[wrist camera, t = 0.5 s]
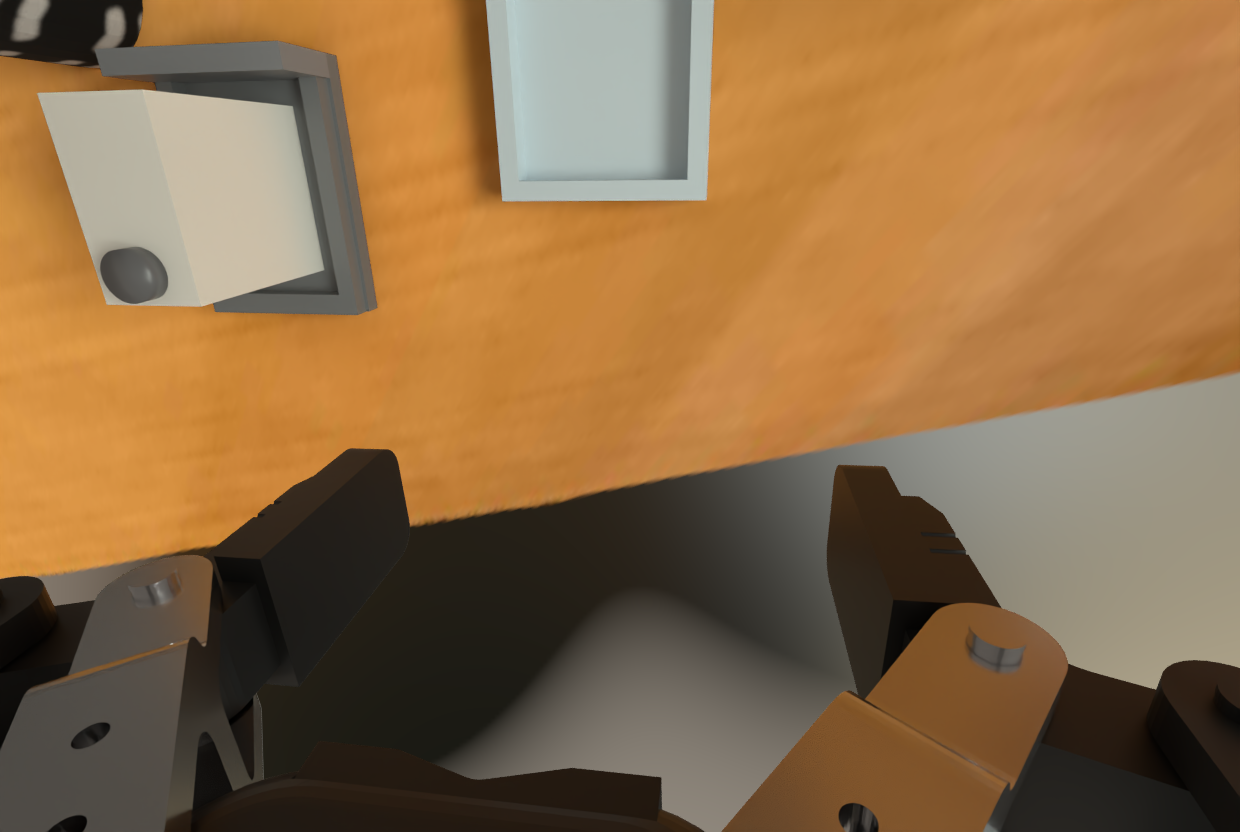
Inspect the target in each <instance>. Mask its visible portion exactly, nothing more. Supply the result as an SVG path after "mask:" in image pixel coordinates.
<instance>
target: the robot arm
mask: <svg viewBox="0 0 1240 832" xmlns="http://www.w3.org/2000/svg"><path fill="white" fill-rule="evenodd" d="M409 533H410V523H409V517H408V512H407V507H406V501H405V496H404V491H403V486H402V481H401V475H400V470H399V465H398V461H397V458H396V456H395V454H394V453H393V452H392V451H391V450H385V449H354V448H352V449H348V450H346V451H345V452H343V453H342V454H341V455H340V456H338V457H337V458H336V459H334V460H333V461H332V462H331V463H329V464H328V465H327V466H326V467H324V468H323V469H322V470H321V471H319V472H318V473H317V474H316V475H314V476H313V477H311V478H309V479H307V480H304V481H302V482H300V483H298V484H296V485H294V486H293V487H291V488H290V489H289V490H287V491H286V492H285V493H284V494H282V495H281V496H280V497H279V498H277V499H276V500H275V501H274V504H270V505H268V506H267V507H266V508H265V509H263V510H262V511H261V512H259V513H258V517H253V518H252V519H251V520H249V521H248V522H247V523H245V524H244V525H243V526H242V527H240V528H239V529H238V530H236V531H235V532H234V533H233V534H231V535H230V536H229V537H228V538H226V539H225V540H224V541H222V542H221V543H220V544H219V545H217V546H216V547H215V548H214V549H212V550H211V551H210V552H209V553H207V554H206V555H205V556H203V557H202V556H196V555H183V556H175V557H169V558H165V559H161V560H157V561H154V562H151V563H148V564H145V565H142V566H140V567H138V568H135V569H133V570H131V571H129V572H127V573H126V574H123V575H122V576H120V577H118V578H117V579H115V580H114V581H112V582H111V583H110V584H108V585H107V586H106V587H105V588H104V589H103V590H102V591H101V592H100V593H99V594H98V596H97V597H96V599H95V600H94V601H87V602H80V603H73V604H66V605H59V606H54V605H53V603H52V601H51V599H50V597H49V595H48V592H47V590H46V588H45V586H44V584H43V582H42V581H41V580H40V579H38V578H35V577H29V576H18V577H10V578H4V579H0V832H704V831H703V830H701V829H700V828H699V827H697V826H695V825H693V824H691V823H689V822H688V821H686V820H684V819H682V818H680V817H679V816H676V815H674V814H671V813H669V812H666V811H664V810H662V797H661V796H662V794H661V793H662V791H661V778H660V777H651V776H642V775H633V774H624V773H614V772H604V771H595V770H586V769H576V768H569V769H560V770H553V771H545V772H538V773H530V774H523V775H515V776H507V777H500V778H492V779H484V780H475V779H470V778H466V777H464V776H462V775H459V774H457V773H454V772H452V771H449V770H447V769H445V768H442V767H440V766H437V765H435V764H432V763H430V762H427V761H425V760H422V759H420V758H418V757H415V756H412V755H410V754H408V753H405V752H403V751H400V750H397V749H389V748H379V747H370V746H360V745H351V744H342V743H331V742H322V741H319V742H318V744H317V745H316V747H315V748H314V750H313V751H312V752H311V754H310V755H309V757H308V758H307V760H306V761H305V763H304V765H303V766H302V768H301V769H300V770H299V771H298V772H291V773H287V774H282V775H279V776H275V777H270V778H267V779H264V780H263V749H262V748H263V745H262V712H261V705H260V702H259V700H258V697H257V694H256V693H257V692H258V691H259V689H260V688H261V687H262V686H263V685H264V684H274V685H285V686H296V687H299V686H300V685H301V684H302V682H303V681H304V680H305V679H306V677H307V676H308V675H309V673H310V672H311V671H312V670H313V668H314V667H315V666H316V664H317V663H318V662H319V661H320V659H321V658H322V657H323V656H324V654H325V653H326V652H327V651H328V649H329V648H330V647H331V645H332V644H333V643H334V642H335V640H336V639H337V638H338V637H339V635H340V634H341V633H342V631H343V630H344V629H345V627H346V626H347V625H348V624H349V622H350V621H351V620H352V619H353V617H354V616H355V615H356V614H357V612H358V611H359V610H360V608H361V607H362V606H363V605H364V603H365V602H366V601H367V600H368V598H369V597H370V596H371V595H372V593H373V592H374V591H375V589H376V588H377V587H378V586H379V584H380V583H381V582H382V580H383V579H384V578H385V577H386V575H387V574H388V573H389V572H390V570H391V569H392V568H393V567H394V565H395V564H396V563H397V561H398V560H399V559H400V558H401V556H402V555H403V553H404V551H405V549H406V547H407V544H408V540H409ZM827 571H828V578H829V583H830V587H831V591H832V595H833V598H834V602H835V606H836V610H837V613H838V618H839V622H840V626H841V630H842V634H843V637H844V641H845V645H846V649H847V653H848V657H849V661H850V665H851V669H852V672H853V676H854V680H855V684H856V688H857V692H858V695H857V694H855V693H854V692H852V691H845V692H843V693H841V694H840V695H839V696H838V697H836V699H835V700H834V701H833V702H832V703H831V704H830V705H829V706H828V707H827V709H826V710H825V711H824V712H823V714H822V715H821V716H820V717H819V718H818V719H817V720H816V722H815V723H814V724H813V725H812V726H811V727H810V729H809V730H808V731H807V732H806V733H805V735H804V736H803V737H802V738H801V739H800V740H799V742H798V743H797V744H796V745H795V746H794V747H793V748H792V750H791V751H790V752H789V753H788V755H787V756H786V757H785V758H784V759H783V760H782V761H781V762H780V764H779V765H778V766H777V767H776V769H775V770H774V771H773V772H772V773H771V774H770V775H769V777H768V778H767V779H766V780H765V781H764V782H763V784H762V785H761V786H760V787H759V788H758V789H757V791H756V792H755V793H754V794H753V795H752V796H751V798H750V799H749V800H748V801H747V802H746V804H745V805H744V806H743V807H742V808H741V809H740V810H739V812H738V813H737V814H736V815H735V816H734V818H733V819H732V820H731V821H730V822H729V823H728V825H727V826H726V827H725V828H724V829H723V830H722V832H1240V668H1238V667H1234V666H1230V665H1226V664H1222V663H1216V662H1210V661H1198V660H1193V661H1182V662H1178V663H1174V664H1172V665H1171V666H1169V667H1167V668H1166V669H1165V670H1164V671H1163V673H1162V676H1161V679H1160V681H1159V684H1158V687H1157V689H1156V690H1155V689H1151V688H1147V687H1144V686H1140V685H1137V684H1133V683H1129V682H1126V681H1122V680H1118V679H1114V678H1111V677H1108V676H1104V675H1100V674H1097V673H1093V672H1090V671H1087V670H1084V669H1081V668H1078V667H1075V666H1073V665H1070V664H1068V661H1067V658H1066V655H1065V652H1064V651H1063V649H1062V648H1061V646H1060V645H1059V643H1058V642H1057V641H1056V640H1055V639H1054V638H1053V637H1052V636H1051V635H1050V634H1049V633H1047V632H1046V631H1045V630H1044V629H1042V628H1041V627H1040V626H1038V625H1037V624H1035V623H1033V622H1031V621H1030V620H1028V619H1026V618H1024V617H1022V616H1020V615H1018V614H1016V613H1013V612H1010V611H1008V610H1005V609H1002V608H1001V606H1000V605H999V603H998V602H997V600H996V599H995V597H994V595H993V594H992V592H991V590H990V589H989V587H988V585H987V584H986V582H985V581H984V579H983V577H982V576H981V574H980V573H979V571H978V569H977V568H976V566H975V564H974V563H973V561H972V560H971V558H970V556H969V555H966V550H965V548H964V547H963V545H962V544H961V542H960V540H959V539H958V538H956V537H955V532H954V531H953V529H952V528H951V526H950V524H949V523H948V521H947V519H946V518H945V516H944V515H943V513H941V512H940V511H938V510H937V509H936V508H934V507H933V506H931V505H930V504H929V503H927V502H926V501H925V500H923V499H922V498H920V497H916V496H901V495H900V493H899V491H898V489H897V487H896V485H895V483H894V482H893V480H892V478H891V476H890V474H889V472H888V471H887V469H886V468H885V467H883V466H857V465H856V466H854V465H838V466H837V469H836V472H835V476H834V485H833V495H832V504H831V513H830V522H829V532H828V541H827Z"/></svg>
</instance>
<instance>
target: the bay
mask: <svg viewBox="0 0 1240 832" xmlns="http://www.w3.org/2000/svg"><path fill="white" fill-rule="evenodd" d="M95 52H96V56H97V59H98V63H99V66H100V70H101V73H102V76H106V77H114V78H122V79H130V80H138V81H146V82H154V83H155V86H156V90H157V91H160V92H169V93H178V94H187V95H196V96H205V97H214V98H223V99H232V100H241V101H250V102H259V103H268V104H277V105H287V106H293V110H294V115H295V120H296V126H297V131H298V136H299V141H300V146H301V151H302V157H303V162H304V167H305V172H306V177H307V183H308V188H309V193H310V198H311V203H312V209H313V214H314V219H315V224H316V229H317V235H318V240H319V245H320V250H321V255H322V260H323V266H324V270H323V271H320V272H316V273H313V274H309V275H306V276H303V277H299V278H296V279H293V280H289V281H286V282H282V283H279V284H276V285H272V286H269V287H266V288H262V289H259V290H255V291H252V292H249V293H245V294H242V295H239V296H235V297H232V298H228V299H225V300H222V301H218V302H215V303H213V305H214V308H215V312H240V313H287V314H335V315H359V314H361V313H364V312H366V311H371V310H373V309H376V308H377V302H376V296H375V290H374V284H373V278H372V271H371V265H370V259H369V253H368V247H367V241H366V235H365V229H364V223H363V217H362V211H361V205H360V198H359V192H358V186H357V180H356V174H355V168H354V162H353V156H352V150H351V144H350V138H349V132H348V125H347V119H346V113H345V107H344V101H343V95H342V89H341V83H340V77H339V71H338V65H337V59H336V56H335V55H332V54H328V53H324V52H320V51H316V50H312V49H308V48H304V47H300V46H296V45H292V44H288V43H285V42H281V41H261V42H239V43H216V44H194V45H171V46H148V47H126V48H103V49H95Z"/></svg>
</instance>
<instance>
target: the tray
mask: <svg viewBox="0 0 1240 832" xmlns="http://www.w3.org/2000/svg"><path fill="white" fill-rule="evenodd" d="M486 7H487V20H488V32H489V44H490V56H491V69H492V81H493V93H494V105H495V117H496V130H497V142H498V154H499V166H500V179H501V191H502V201H645V200H706V199H707V181H708V154H709V126H710V99H711V72H712V44H713V17H714V0H486Z"/></svg>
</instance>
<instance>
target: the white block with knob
mask: <svg viewBox="0 0 1240 832" xmlns="http://www.w3.org/2000/svg"><path fill="white" fill-rule="evenodd" d="M37 94H38V97H39V100H40V103H41V106H42V109H43V112H44V115H45V118H46V121H47V124H48V127H49V131H50V134H51V137H52V140H53V143H54V146H55V149H56V152H57V155H58V158H59V161H60V164H61V167H62V170H63V173H64V176H65V179H66V182H67V185H68V188H69V191H70V194H71V197H72V200H73V203H74V206H75V209H76V212H77V215H78V218H79V221H80V224H81V227H82V230H83V233H84V236H85V239H86V242H87V245H88V248H89V251H90V254H91V258H92V261H93V264H94V267H95V270H96V273H97V276H98V279H99V282H100V285H101V288H102V291H103V294H104V297H105V300H106V303H107V305H148V306H199V307H201V306H205V305H208V304H212V303H215V302H218V301H222V300H225V299H228V298H232V297H235V296H239V295H242V294H245V293H249V292H252V291H255V290H259V289H262V288H266V287H269V286H272V285H276V284H279V283H282V282H286V281H289V280H293V279H296V278H299V277H303V276H306V275H309V274H313V273H316V272H320V271H323V270H324V266H323V260H322V255H321V250H320V245H319V240H318V235H317V229H316V224H315V219H314V214H313V209H312V203H311V198H310V193H309V188H308V183H307V177H306V172H305V167H304V162H303V157H302V151H301V146H300V141H299V136H298V131H297V126H296V120H295V115H294V110H293V106H287V105H277V104H268V103H259V102H250V101H241V100H232V99H223V98H214V97H205V96H196V95H187V94H178V93H169V92H160V91H151V90H113V91H83V92H53V93H37Z"/></svg>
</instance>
